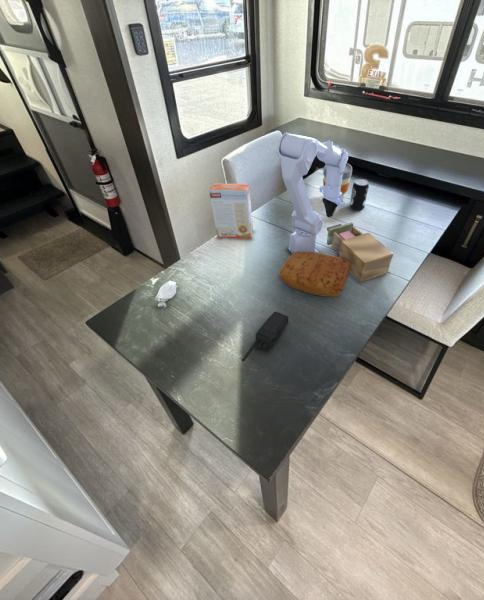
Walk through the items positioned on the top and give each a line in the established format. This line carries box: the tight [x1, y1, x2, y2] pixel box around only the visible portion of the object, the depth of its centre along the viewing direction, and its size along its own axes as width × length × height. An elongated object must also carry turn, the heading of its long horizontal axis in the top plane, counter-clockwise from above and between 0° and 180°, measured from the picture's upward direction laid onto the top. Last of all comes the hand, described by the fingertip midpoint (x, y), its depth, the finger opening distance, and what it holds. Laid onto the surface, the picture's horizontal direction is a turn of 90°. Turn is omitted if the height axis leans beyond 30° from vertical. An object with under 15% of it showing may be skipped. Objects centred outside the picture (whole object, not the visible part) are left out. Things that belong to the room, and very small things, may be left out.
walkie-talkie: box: [241, 311, 289, 363], centre depth 88 cm, size 6×6×20 cm
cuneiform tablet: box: [278, 252, 351, 298], centre depth 104 cm, size 22×17×8 cm
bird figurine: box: [154, 280, 180, 308], centre depth 102 cm, size 5×7×10 cm
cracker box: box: [208, 182, 254, 240], centre depth 121 cm, size 14×6×21 cm, turn 84°
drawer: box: [326, 221, 363, 254], centre depth 117 cm, size 17×10×7 cm, turn 24°
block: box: [339, 231, 355, 240], centre depth 117 cm, size 4×4×4 cm
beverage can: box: [349, 178, 370, 212], centre depth 137 cm, size 7×7×12 cm
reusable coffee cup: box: [322, 162, 353, 202], centre depth 141 cm, size 13×12×15 cm
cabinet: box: [338, 232, 394, 283], centre depth 110 cm, size 14×12×9 cm
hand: (329, 216), depth 123 cm, fingers closed
